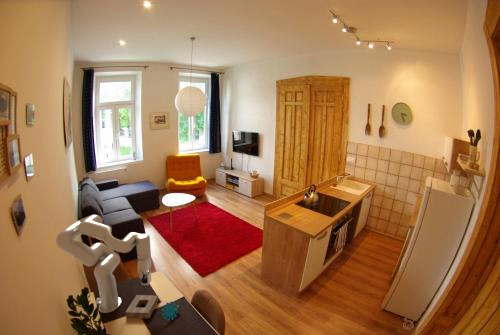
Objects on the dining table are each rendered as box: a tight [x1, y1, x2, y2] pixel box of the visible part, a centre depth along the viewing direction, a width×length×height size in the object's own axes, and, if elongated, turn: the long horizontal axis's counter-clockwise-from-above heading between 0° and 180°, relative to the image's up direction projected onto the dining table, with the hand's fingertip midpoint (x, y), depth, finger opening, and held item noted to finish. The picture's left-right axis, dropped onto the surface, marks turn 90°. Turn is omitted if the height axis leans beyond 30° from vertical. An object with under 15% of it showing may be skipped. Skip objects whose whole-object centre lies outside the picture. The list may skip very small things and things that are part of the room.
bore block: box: [125, 294, 159, 319], centre depth 158 cm, size 14×14×4 cm
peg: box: [140, 270, 152, 286], centre depth 156 cm, size 4×4×7 cm
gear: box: [161, 301, 180, 322], centre depth 153 cm, size 11×6×10 cm
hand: (146, 280), depth 156 cm, fingers closed on peg, 4 cm apart
